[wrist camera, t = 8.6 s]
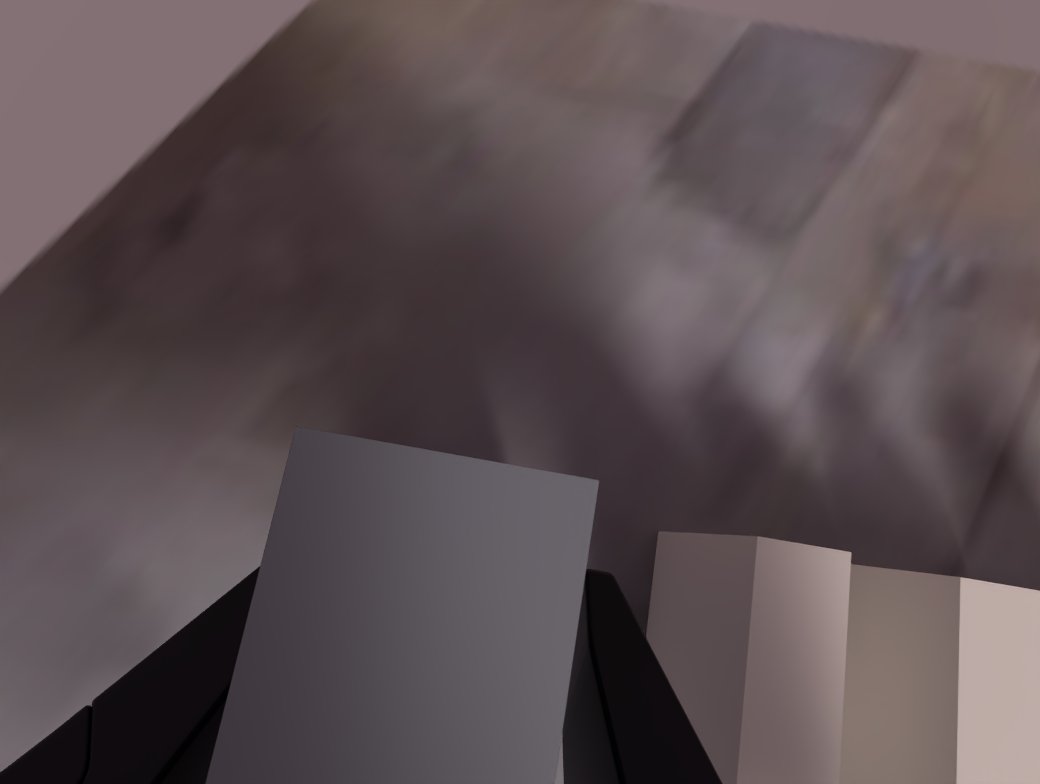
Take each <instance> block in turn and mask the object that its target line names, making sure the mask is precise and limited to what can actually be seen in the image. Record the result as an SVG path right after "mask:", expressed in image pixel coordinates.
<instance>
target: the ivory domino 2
mask: <svg viewBox="0 0 1040 784" xmlns="http://www.w3.org/2000/svg"><path fill="white" fill-rule="evenodd" d="M839 784H1040V591H1038V590H1032V589H1027V588H1021V587H1015V586H1009V585H1003V584H997V583H991V582H986V581H980V580H974V579H968V578H962V577H955V576H946V575H938V574H929V573H921V572H912V571H904V570H896V569H887V568H879V567H870V566H862V565H854V564H851V570H850V589H849V607H848V626H847V645H846V663H845V682H844V700H843V719H842V737H841V756H840V775H839Z"/></svg>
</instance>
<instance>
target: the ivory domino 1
mask: <svg viewBox="0 0 1040 784" xmlns="http://www.w3.org/2000/svg"><path fill="white" fill-rule="evenodd" d="M850 570H851V552H847V551H841V550H835V549H830V548H824V547H818V546H812V545H806V544H800V543H794V542H789V541H783V540H777V539H771V538H765V537H759V536H743V535H723V534H703V533H683V532H663V531H658V539H657V547H656V556H655V564H654V573H653V581H652V590H651V598H650V607H649V615H648V624H647V632H646V638H647V640H648V642H649V644H650V646H651V648H652V650H653V652H654V654H655V655H656V657H657V659H658V661H659V663H660V665H661V667H662V669H663V671H664V673H665V674H666V676H667V678H668V680H669V682H670V684H671V686H672V688H673V690H674V692H675V694H676V695H677V697H678V699H679V701H680V703H681V705H682V707H683V709H684V711H685V713H686V714H687V716H688V718H689V720H690V722H691V724H692V726H693V728H694V730H695V732H696V733H697V735H698V737H699V739H700V741H701V743H702V745H703V747H704V749H705V751H706V752H707V754H708V756H709V758H710V760H711V762H712V764H713V766H714V768H715V770H716V772H717V773H718V775H719V777H720V779H721V781H722V783H723V784H839V775H840V756H841V737H842V719H843V700H844V682H845V663H846V645H847V626H848V607H849V589H850Z"/></svg>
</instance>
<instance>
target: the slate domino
mask: <svg viewBox="0 0 1040 784" xmlns="http://www.w3.org/2000/svg"><path fill="white" fill-rule="evenodd" d="M598 486H599V480H594V479H589V478H583V477H578V476H572V475H566V474H561V473H555V472H550V471H544V470H538V469H533V468H527V467H522V466H516V465H511V464H505V463H499V462H494V461H488V460H483V459H477V458H471V457H466V456H460V455H455V454H449V453H443V452H438V451H432V450H427V449H421V448H416V447H410V446H404V445H399V444H393V443H388V442H382V441H376V440H371V439H365V438H360V437H354V436H349V435H343V434H337V433H332V432H326V431H321V430H315V429H309V428H304V427H298V426H296V427H295V431H294V435H293V439H292V443H291V447H290V451H289V455H288V459H287V463H286V467H285V471H284V475H283V479H282V483H281V487H280V491H279V495H278V499H277V502H276V506H275V510H274V514H273V518H272V522H271V526H270V530H269V534H268V538H267V542H266V546H265V550H264V554H263V558H262V562H261V566H260V570H259V574H258V578H257V582H256V586H255V590H254V594H253V597H252V601H251V605H250V609H249V613H248V617H247V621H246V625H245V629H244V633H243V637H242V641H241V645H240V649H239V653H238V657H237V661H236V665H235V669H234V673H233V677H232V681H231V685H230V688H229V692H228V696H227V700H226V704H225V708H224V712H223V716H222V720H221V724H220V728H219V732H218V736H217V740H216V744H215V748H214V752H213V756H212V760H211V764H210V768H209V772H208V776H207V780H206V783H205V784H555V777H556V771H557V764H558V757H559V750H560V743H561V737H562V730H563V723H564V716H565V709H566V703H567V696H568V689H569V682H570V676H571V669H572V662H573V655H574V648H575V642H576V635H577V628H578V621H579V615H580V608H581V601H582V594H583V587H584V581H585V574H586V567H587V560H588V554H589V547H590V540H591V533H592V526H593V520H594V513H595V506H596V499H597V493H598Z"/></svg>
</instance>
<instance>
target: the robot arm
mask: <svg viewBox="0 0 1040 784" xmlns="http://www.w3.org/2000/svg"><path fill="white" fill-rule="evenodd" d="M259 570H260V567H258V568H257V569H256V570H255V571H253V572H252V573H251V574H250V575H248V576H247V577H246V578H245V579H243V580H242V581H241V582H240V583H238V584H237V585H236V586H235V587H233V588H232V589H231V590H230V591H228V592H227V593H226V594H225V595H223V596H222V597H221V598H220V599H218V600H217V601H216V602H215V603H213V604H212V605H211V606H210V607H209V608H207V609H206V610H205V611H204V612H202V613H201V614H200V615H199V616H197V617H196V618H195V619H194V620H192V621H191V622H190V623H189V624H187V625H186V626H185V627H184V628H182V629H181V630H180V631H179V632H177V633H176V634H175V635H174V636H172V637H171V638H170V639H169V640H167V641H166V642H165V643H164V644H162V645H161V646H160V647H159V648H157V649H156V650H155V651H154V652H152V653H151V654H150V655H149V656H148V657H146V658H145V659H144V660H143V661H141V662H140V663H139V664H138V665H136V666H135V667H134V668H133V669H131V670H130V671H129V672H128V673H126V674H125V675H124V676H123V677H121V678H120V679H119V680H118V681H116V682H115V683H114V684H113V685H111V686H110V687H109V688H108V689H106V690H105V691H104V692H103V693H101V694H100V695H99V696H98V697H96V698H95V699H94V700H93V702H92V707H91V706H89V705H87V706H85V707H84V708H82V709H81V710H80V711H79V712H77V713H76V714H75V715H74V716H72V717H71V718H70V719H69V720H67V721H66V722H65V723H64V724H62V725H61V726H60V727H59V728H57V729H56V730H55V731H54V732H52V733H51V734H50V735H48V736H47V737H46V738H45V739H43V740H42V741H41V742H39V743H38V744H37V745H36V746H34V747H33V748H32V749H30V750H29V751H28V752H26V753H25V754H24V755H23V756H21V757H20V758H19V759H17V760H16V761H15V762H13V763H12V764H11V765H10V766H8V767H7V768H6V769H4V770H3V771H1V772H0V784H205V783H206V780H207V776H208V772H209V768H210V764H211V760H212V756H213V752H214V748H215V744H216V740H217V736H218V732H219V728H220V724H221V720H222V716H223V712H224V708H225V704H226V700H227V696H228V692H229V688H230V685H231V681H232V677H233V673H234V669H235V665H236V661H237V657H238V653H239V649H240V645H241V641H242V637H243V633H244V629H245V625H246V621H247V617H248V613H249V609H250V605H251V601H252V597H253V594H254V590H255V586H256V582H257V578H258V574H259ZM563 770H564V784H723V783H722V781H721V779H720V777H719V775H718V773H717V772H716V770H715V768H714V766H713V764H712V762H711V760H710V758H709V756H708V754H707V752H706V751H705V749H704V747H703V745H702V743H701V741H700V739H699V737H698V735H697V733H696V732H695V730H694V728H693V726H692V724H691V722H690V720H689V718H688V716H687V714H686V713H685V711H684V709H683V707H682V705H681V703H680V701H679V699H678V697H677V695H676V694H675V692H674V690H673V688H672V686H671V684H670V682H669V680H668V678H667V676H666V674H665V673H664V671H663V669H662V667H661V665H660V663H659V661H658V659H657V657H656V655H655V654H654V652H653V650H652V648H651V646H650V644H649V642H648V640H647V638H646V636H645V635H644V633H643V631H642V629H641V627H640V625H639V623H638V621H637V619H636V617H635V615H634V614H633V612H632V610H631V608H630V606H629V604H628V602H627V600H626V598H625V596H624V595H623V593H622V591H621V589H620V587H619V585H618V583H617V581H616V579H615V578H614V576H613V575H612V574H611V573H609V572H604V571H598V570H592V569H586V574H585V581H584V587H583V594H582V601H581V608H580V615H579V621H578V628H577V635H576V642H575V648H574V655H573V662H572V669H571V676H570V682H569V689H568V696H567V703H566V709H565V716H564V723H563Z"/></svg>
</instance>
